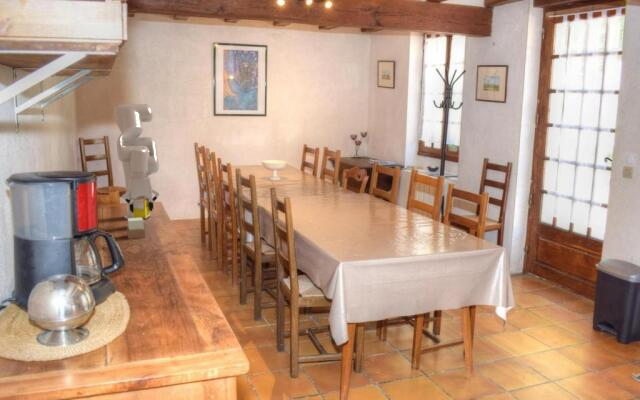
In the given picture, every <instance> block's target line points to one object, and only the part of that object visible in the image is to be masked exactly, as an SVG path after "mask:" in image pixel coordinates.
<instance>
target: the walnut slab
mask: <svg viewBox="0 0 640 400" xmlns="http://www.w3.org/2000/svg"><path fill="white" fill-rule="evenodd" d="M126 237H127V238H128V240H130V239H131V240H132V239H135V240H136V239H141V238H143V239H144V238H145V239H146V229H145V228H144V229H138V230H129V228H128V226H127V227H126Z"/></svg>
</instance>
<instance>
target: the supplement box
mask: <svg viewBox="0 0 640 400" xmlns="http://www.w3.org/2000/svg"><path fill="white" fill-rule="evenodd" d="M133 213H134V218H141V217H142V219H143V221H147V220H148V219H150V217H151V211H150V200H149V199H147V198H146V197H138V198H137V199H134V201H133Z"/></svg>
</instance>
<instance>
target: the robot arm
mask: <svg viewBox="0 0 640 400" xmlns="http://www.w3.org/2000/svg"><path fill="white" fill-rule="evenodd" d="M113 113H114V114H113V115H114V120H115V123H116V125H117V127H118V129H119V131H120V134H119V135H118V137H117V141H116V150H117V157H118V160H119V161H120V162H121V163H122V164H121V165H122V169H123V174H124V180H125V182H124V184H125V193H123V194H122V195H121V197H122V199H123V200H125V202H126V211H127V212H126V213H127V214H125V215H124V216H123V217H124V219H126V220H128V218H134V213H133V201H134V199H137V198H138V197H146V198H147V199H149V200H150V212H153V210H154V202H155V201H156V200H157V199H158V197H159V196H160V193H159V192H158V191H156V190H155V189H153V188H152V186H153V185H152V182H151V178H150V176H151V175H152V174H156V173H158V172H159V168H160V163H159V162H160V161H159V156H158V151H157V146H156V142H155V139H154V138H152V137H151V136H144V137H143V136H141V135H142V134H143V125H142V123H149V122H150V123H151V122H152V120H153V117H154V116H153V109H152V108H151V106H150V105H149V104H146V103H144V104H143V103H138V104H137V103H136V104H135V103H133V104H131V103H130V104H129V103H128V104H126V103H125V104H119V105H116V106H115V107H114V111H113ZM153 194H154V196H153Z"/></svg>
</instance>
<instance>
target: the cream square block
mask: <svg viewBox="0 0 640 400" xmlns="http://www.w3.org/2000/svg"><path fill="white" fill-rule="evenodd" d="M127 227H128V228H129V230H138V229H145V226H144V220H143V219H142V217H141V218H128V219H127Z"/></svg>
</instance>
